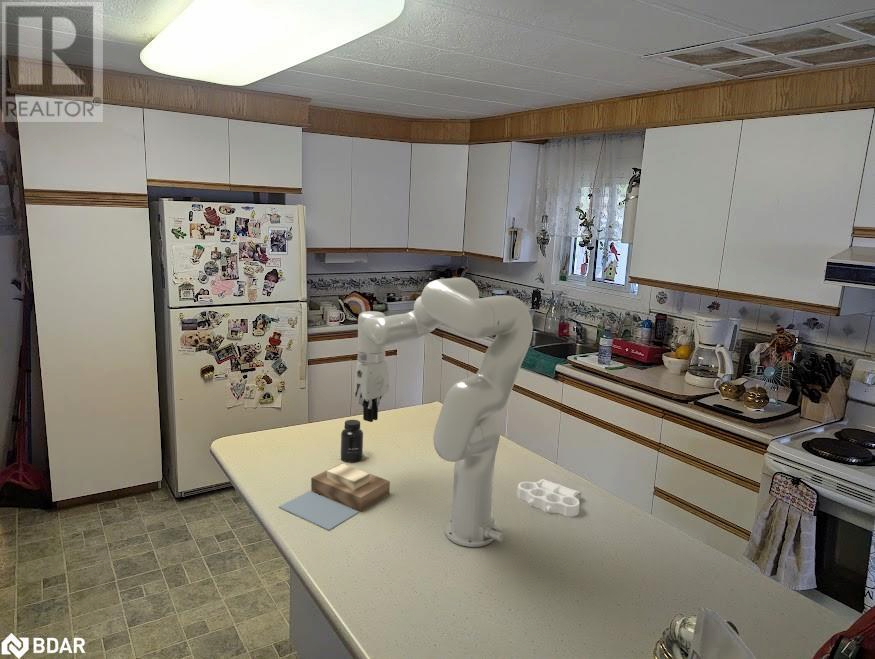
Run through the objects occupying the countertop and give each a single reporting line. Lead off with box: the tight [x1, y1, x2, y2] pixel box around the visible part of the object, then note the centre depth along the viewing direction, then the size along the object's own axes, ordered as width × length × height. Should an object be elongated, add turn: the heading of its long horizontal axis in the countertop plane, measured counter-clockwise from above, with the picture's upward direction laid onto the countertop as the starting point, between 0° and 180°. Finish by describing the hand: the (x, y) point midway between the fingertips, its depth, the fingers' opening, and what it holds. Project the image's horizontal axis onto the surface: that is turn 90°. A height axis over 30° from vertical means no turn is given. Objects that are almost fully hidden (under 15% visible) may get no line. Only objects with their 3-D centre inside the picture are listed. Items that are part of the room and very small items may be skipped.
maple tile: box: [327, 463, 370, 490], centre depth 162 cm, size 10×6×2 cm, turn 56°
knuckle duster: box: [516, 478, 582, 518], centre depth 164 cm, size 3×18×15 cm
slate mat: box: [278, 490, 360, 532], centre depth 154 cm, size 18×11×1 cm, turn 56°
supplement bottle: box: [340, 419, 364, 463], centre depth 185 cm, size 7×7×12 cm
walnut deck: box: [310, 462, 391, 513], centre depth 164 cm, size 18×12×4 cm, turn 56°
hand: (370, 419), depth 166 cm, fingers closed
